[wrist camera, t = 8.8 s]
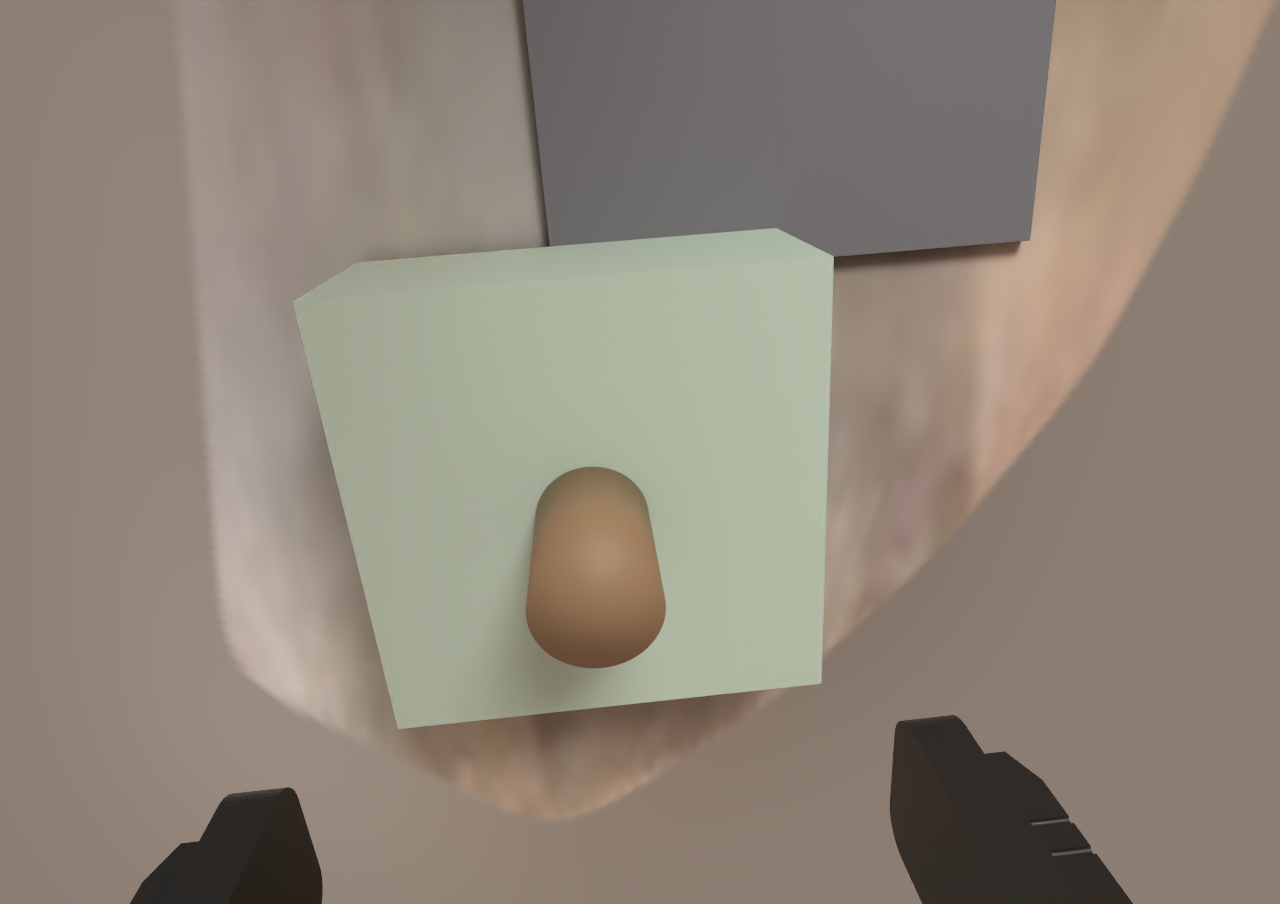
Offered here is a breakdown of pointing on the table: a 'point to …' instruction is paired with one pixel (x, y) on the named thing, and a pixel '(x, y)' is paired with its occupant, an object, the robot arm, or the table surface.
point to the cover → (582, 468)
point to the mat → (790, 119)
